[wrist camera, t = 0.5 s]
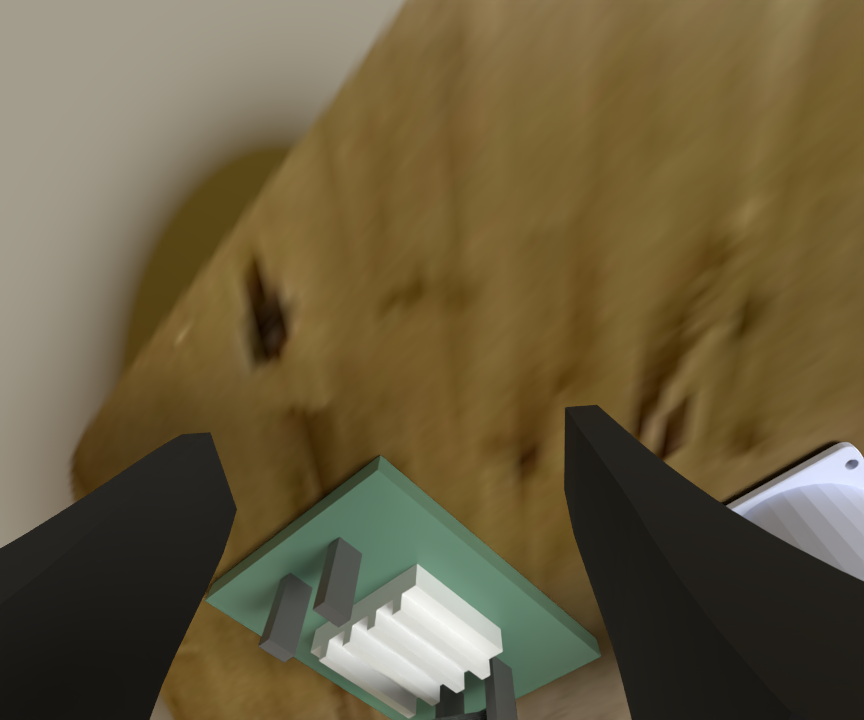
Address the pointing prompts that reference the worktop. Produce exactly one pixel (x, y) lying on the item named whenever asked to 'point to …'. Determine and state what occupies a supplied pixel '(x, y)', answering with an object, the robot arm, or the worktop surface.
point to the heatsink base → (402, 605)
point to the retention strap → (467, 716)
